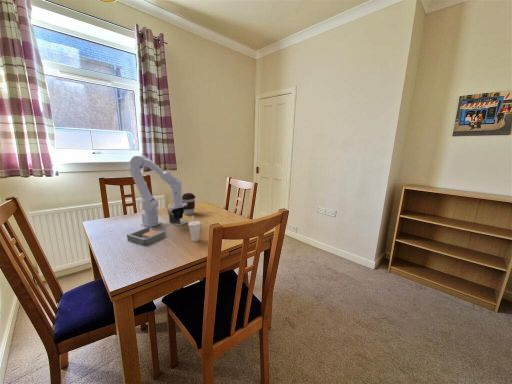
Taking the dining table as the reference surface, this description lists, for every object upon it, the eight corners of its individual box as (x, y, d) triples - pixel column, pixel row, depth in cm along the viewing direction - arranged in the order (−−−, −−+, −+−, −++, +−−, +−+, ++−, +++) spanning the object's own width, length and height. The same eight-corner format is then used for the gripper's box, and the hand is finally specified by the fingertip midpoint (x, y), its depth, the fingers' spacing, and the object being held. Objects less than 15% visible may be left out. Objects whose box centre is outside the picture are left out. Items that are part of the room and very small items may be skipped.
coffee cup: (198, 212, 163) (197, 193, 160) (190, 216, 154) (189, 196, 151) (187, 210, 166) (186, 192, 163) (179, 214, 157) (178, 194, 154)
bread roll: (177, 214, 157) (177, 204, 155) (164, 214, 156) (163, 204, 155) (182, 209, 170) (181, 199, 168) (170, 209, 169) (169, 199, 167)
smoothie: (190, 237, 119) (189, 213, 116) (202, 237, 120) (201, 213, 117) (188, 242, 113) (186, 217, 110) (200, 242, 114) (199, 217, 111)
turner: (166, 223, 139) (165, 215, 138) (175, 219, 146) (174, 212, 145) (178, 226, 135) (178, 217, 134) (187, 222, 142) (187, 214, 141)
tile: (142, 237, 119) (142, 234, 119) (153, 233, 125) (152, 230, 125) (151, 240, 116) (151, 236, 116) (161, 235, 122) (161, 232, 122)
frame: (127, 239, 115) (126, 234, 114) (148, 231, 126) (148, 226, 126) (145, 245, 109) (144, 240, 108) (165, 236, 121) (165, 231, 120)
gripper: (173, 202, 128) (174, 223, 131) (190, 197, 141) (191, 216, 144) (164, 200, 131) (166, 221, 134) (182, 195, 144) (183, 215, 147)
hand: (178, 218), depth 139 cm, fingers closed on turner, 2 cm apart
